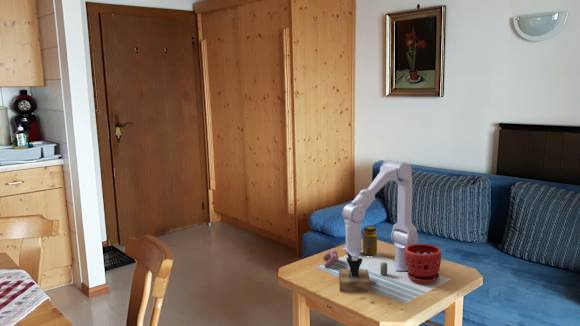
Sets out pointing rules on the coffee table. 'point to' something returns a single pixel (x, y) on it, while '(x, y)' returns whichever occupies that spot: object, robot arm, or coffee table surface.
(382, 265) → the short pin
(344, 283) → the hole block
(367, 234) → the condiment
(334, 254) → the pink curved piece
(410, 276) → the plant pot
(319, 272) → the coffee table surface
